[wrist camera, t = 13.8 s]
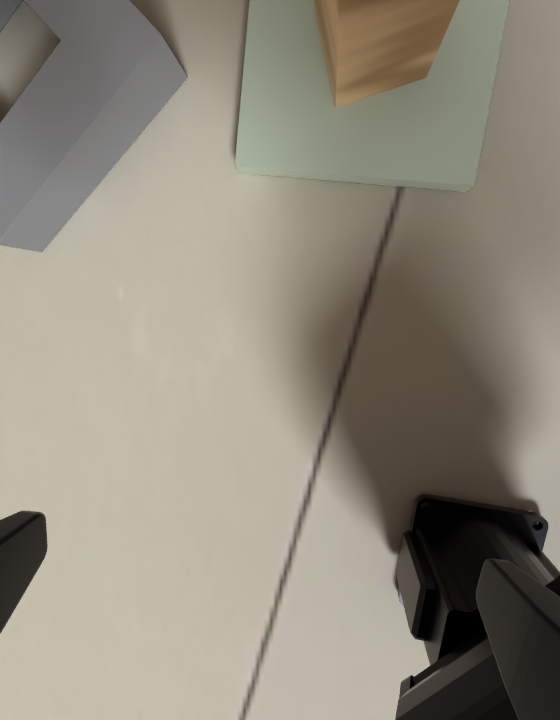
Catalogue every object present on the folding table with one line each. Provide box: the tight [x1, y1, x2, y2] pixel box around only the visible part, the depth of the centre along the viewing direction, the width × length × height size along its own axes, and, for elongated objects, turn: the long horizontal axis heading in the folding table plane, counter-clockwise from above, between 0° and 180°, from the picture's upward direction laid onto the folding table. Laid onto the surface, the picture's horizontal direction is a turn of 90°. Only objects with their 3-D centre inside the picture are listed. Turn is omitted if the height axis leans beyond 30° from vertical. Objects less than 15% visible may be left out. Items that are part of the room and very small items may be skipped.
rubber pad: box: [235, 0, 510, 192], centre depth 17 cm, size 11×11×1 cm
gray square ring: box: [0, 0, 188, 252], centre depth 18 cm, size 12×12×3 cm
